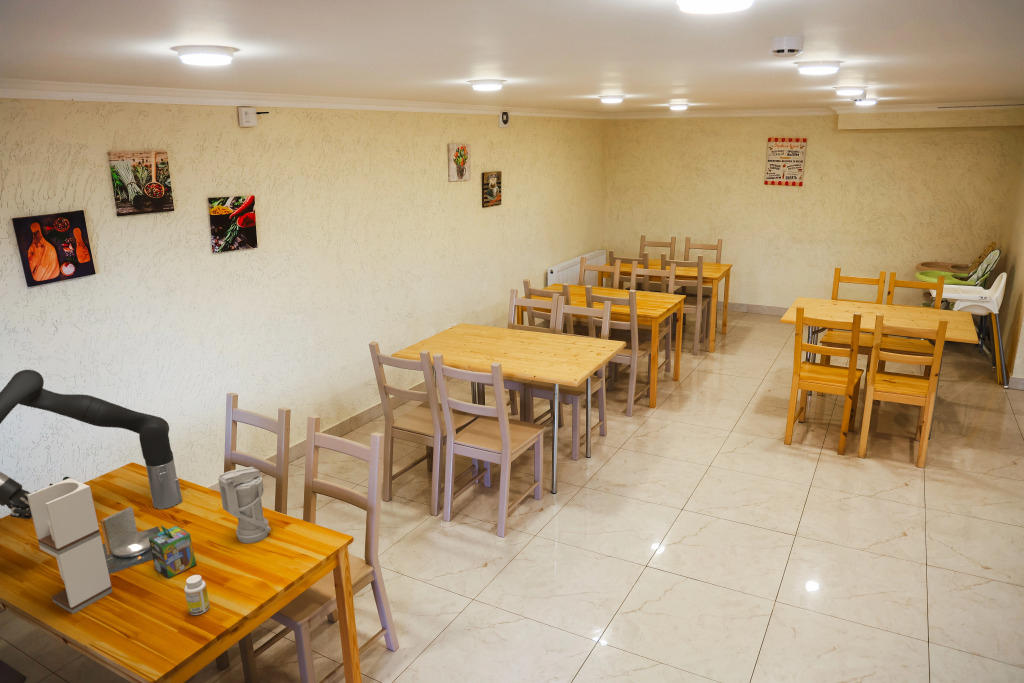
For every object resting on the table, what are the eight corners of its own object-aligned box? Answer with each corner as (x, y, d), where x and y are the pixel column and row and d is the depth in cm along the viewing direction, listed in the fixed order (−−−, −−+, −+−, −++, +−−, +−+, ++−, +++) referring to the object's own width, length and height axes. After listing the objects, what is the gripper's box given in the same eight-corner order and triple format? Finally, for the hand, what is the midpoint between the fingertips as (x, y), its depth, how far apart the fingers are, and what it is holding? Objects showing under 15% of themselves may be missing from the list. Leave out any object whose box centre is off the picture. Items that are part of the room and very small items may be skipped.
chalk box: (196, 565, 217) (189, 524, 213) (168, 579, 210) (160, 537, 206) (182, 555, 222) (175, 514, 218) (153, 569, 215) (145, 527, 211)
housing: (158, 530, 237) (157, 525, 237) (171, 552, 224) (170, 548, 223) (99, 549, 227) (98, 544, 226) (109, 574, 213) (108, 569, 213)
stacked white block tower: (92, 581, 210) (69, 478, 200) (112, 591, 205) (89, 486, 195) (53, 602, 200) (26, 495, 191) (73, 613, 195) (47, 504, 185)
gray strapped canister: (259, 524, 240) (250, 458, 233) (275, 534, 233) (266, 467, 226) (224, 539, 230) (213, 472, 224) (239, 551, 224) (228, 482, 217)
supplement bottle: (204, 601, 199) (198, 570, 197) (213, 608, 196) (208, 577, 193) (185, 610, 195) (179, 579, 192) (194, 618, 192) (188, 587, 189)
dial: (141, 531, 233) (134, 495, 230) (164, 541, 227) (157, 505, 223) (98, 552, 221) (90, 515, 218) (120, 564, 215) (113, 526, 211)
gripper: (4, 485, 216) (54, 516, 220) (-22, 506, 203) (31, 539, 208) (19, 469, 215) (68, 501, 219) (-7, 489, 202) (46, 522, 207)
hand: (50, 519), depth 214 cm, fingers closed
